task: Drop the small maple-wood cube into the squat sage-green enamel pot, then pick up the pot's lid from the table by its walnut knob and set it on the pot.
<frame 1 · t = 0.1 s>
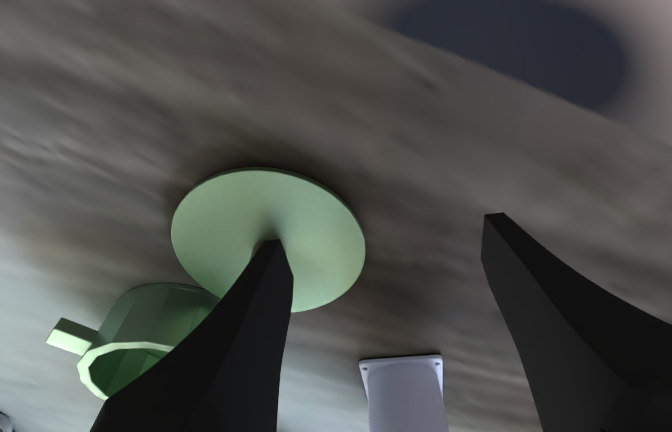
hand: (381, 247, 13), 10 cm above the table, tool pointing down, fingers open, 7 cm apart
pot: (186, 328, 34), on the table
lid: (270, 248, 26), point 1 cm above the table
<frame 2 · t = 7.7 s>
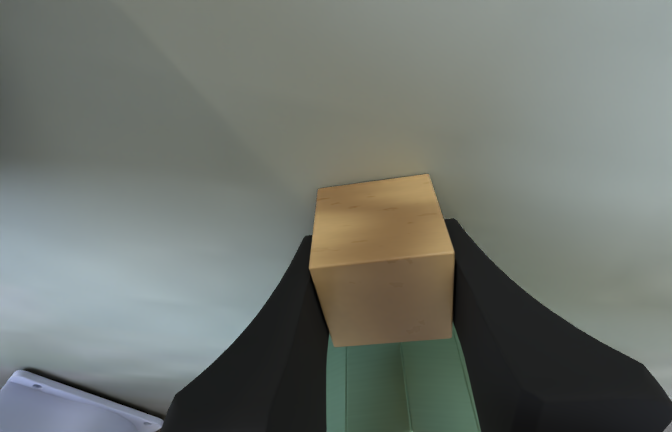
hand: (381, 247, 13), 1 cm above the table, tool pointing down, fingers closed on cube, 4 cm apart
pot: (400, 377, 21), on the table
cube: (378, 223, 14), on the table, touching gripper
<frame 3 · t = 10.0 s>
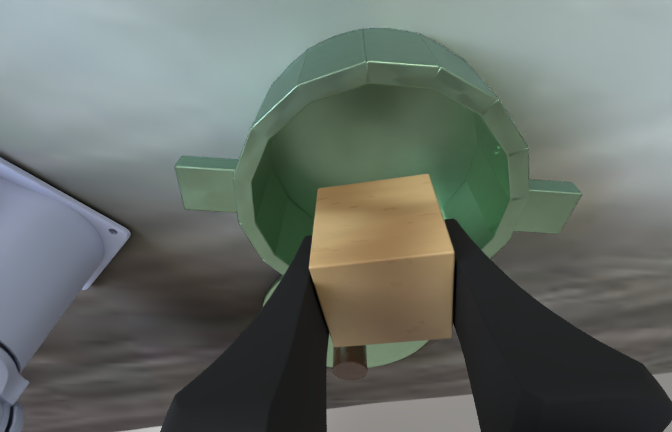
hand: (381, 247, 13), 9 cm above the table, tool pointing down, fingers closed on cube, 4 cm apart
pot: (371, 152, 21), on the table
lid: (349, 317, 29), point 1 cm above the table
cube: (378, 223, 14), point 7 cm above the table, touching gripper
when the fingers open (2 cm above the table, at t = 12.3 s): cube stays where it is, resting on pot.
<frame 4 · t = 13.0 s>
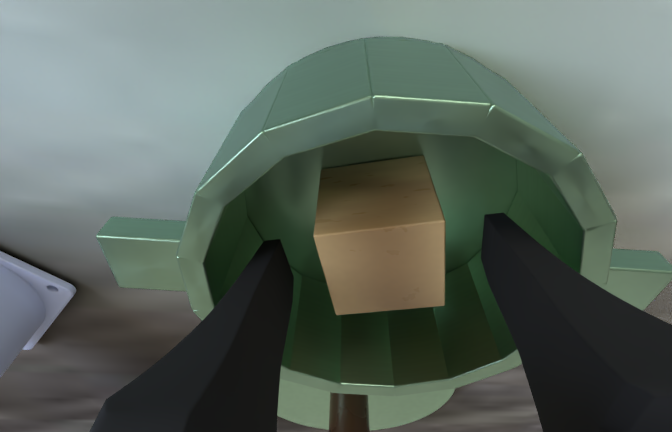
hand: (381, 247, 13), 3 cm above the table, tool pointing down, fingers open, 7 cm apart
pot: (376, 196, 16), on the table
lid: (349, 379, 24), point 1 cm above the table
cube: (376, 203, 15), resting on pot
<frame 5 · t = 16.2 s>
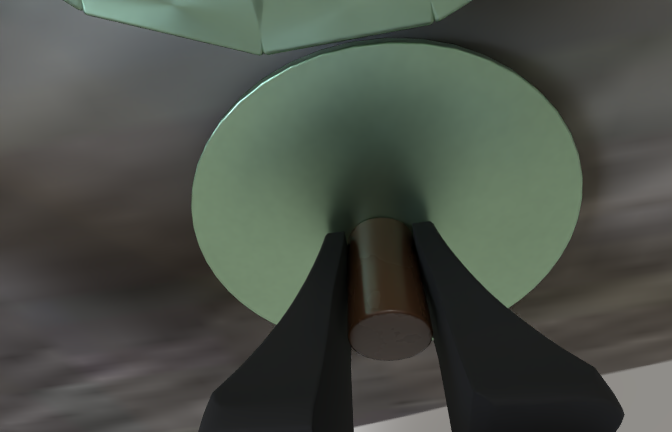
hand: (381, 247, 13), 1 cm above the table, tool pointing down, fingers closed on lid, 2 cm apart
lid: (379, 233, 14), point 1 cm above the table, touching gripper
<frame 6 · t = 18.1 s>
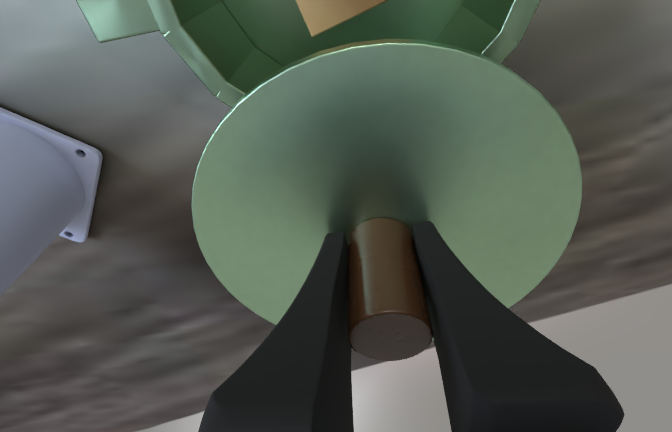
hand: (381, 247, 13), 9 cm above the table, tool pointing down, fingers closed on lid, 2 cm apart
lid: (379, 233, 14), point 8 cm above the table, touching gripper
when the fingers open (6 cm above the table, at t = 20.1 s): lid stays where it is, resting on pot.
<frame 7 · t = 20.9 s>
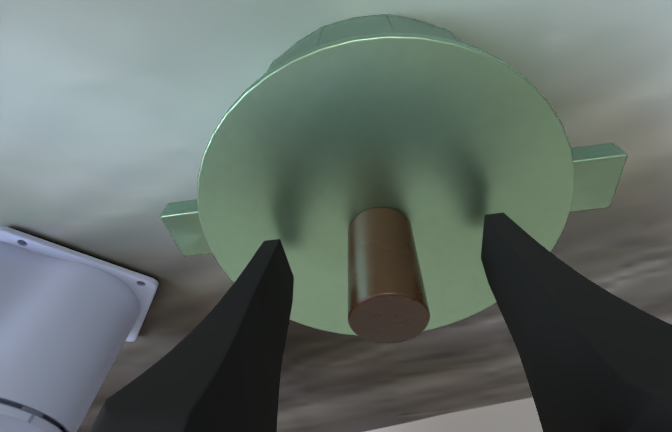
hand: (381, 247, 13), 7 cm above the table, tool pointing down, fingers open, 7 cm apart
pot: (372, 155, 19), on the table
lid: (378, 223, 14), point 5 cm above the table, touching pot
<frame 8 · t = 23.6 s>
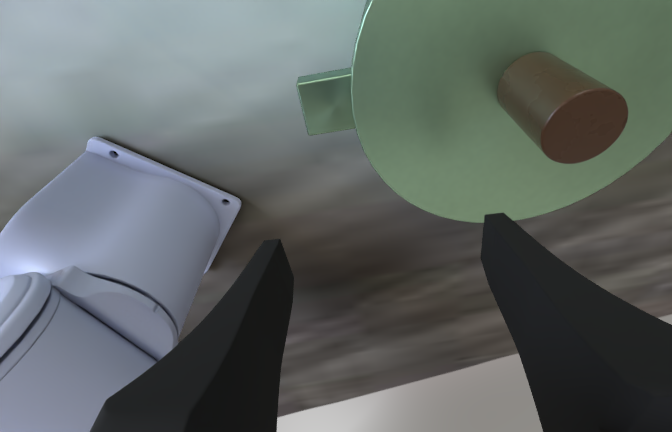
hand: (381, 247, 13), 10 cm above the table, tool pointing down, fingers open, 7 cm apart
pot: (481, 46, 19), on the table
lid: (523, 80, 14), point 5 cm above the table, touching pot
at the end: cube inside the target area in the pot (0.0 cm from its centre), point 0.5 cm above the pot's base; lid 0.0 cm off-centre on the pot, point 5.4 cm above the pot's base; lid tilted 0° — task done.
